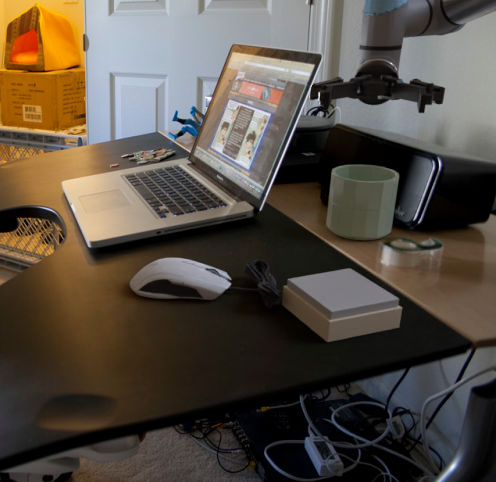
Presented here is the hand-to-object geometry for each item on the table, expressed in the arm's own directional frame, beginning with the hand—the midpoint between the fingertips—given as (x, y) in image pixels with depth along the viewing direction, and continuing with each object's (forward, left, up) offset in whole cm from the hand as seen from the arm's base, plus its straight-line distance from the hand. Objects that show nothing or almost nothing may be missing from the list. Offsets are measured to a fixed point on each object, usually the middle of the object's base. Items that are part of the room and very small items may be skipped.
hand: (373, 102), depth 97 cm
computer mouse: (+17, +37, -18) cm, 44 cm away
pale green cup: (0, +10, -17) cm, 20 cm away
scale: (+1, +38, -17) cm, 42 cm away
